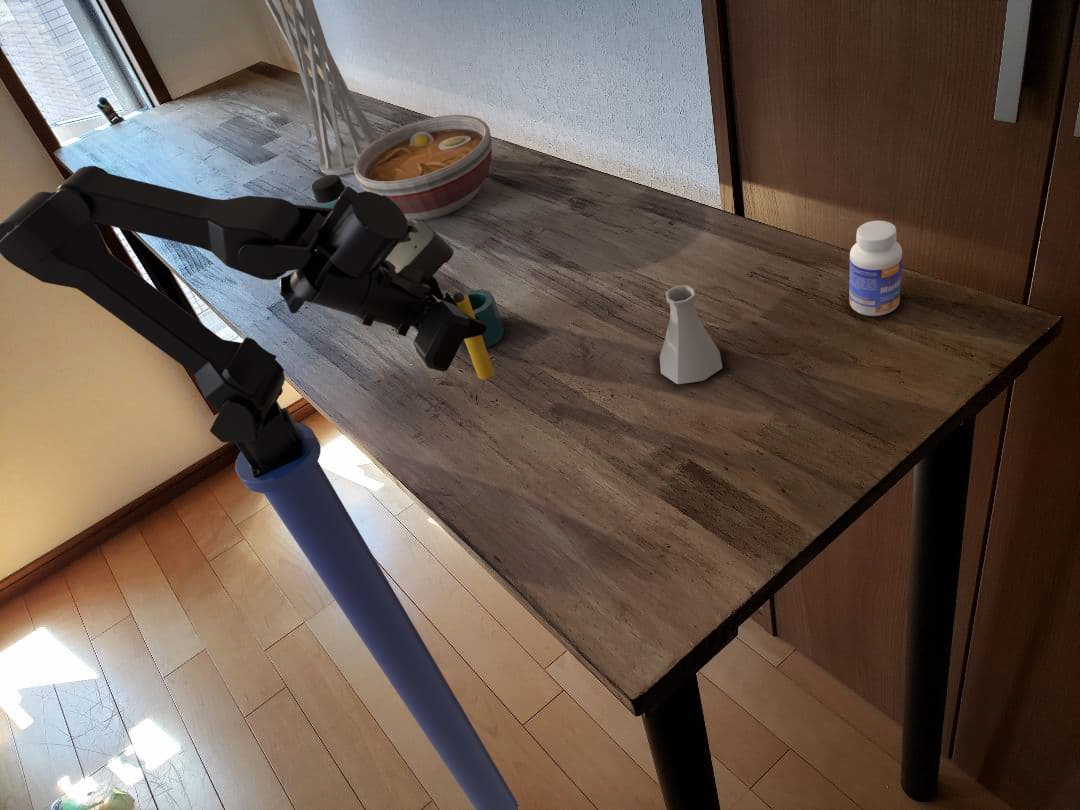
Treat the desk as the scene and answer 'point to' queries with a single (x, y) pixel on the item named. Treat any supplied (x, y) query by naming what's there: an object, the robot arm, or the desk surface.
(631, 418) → the desk surface
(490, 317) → the pen pot
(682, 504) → the desk surface
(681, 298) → the flask
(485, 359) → the pencil
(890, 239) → the pill bottle
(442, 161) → the bowl
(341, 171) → the vase
